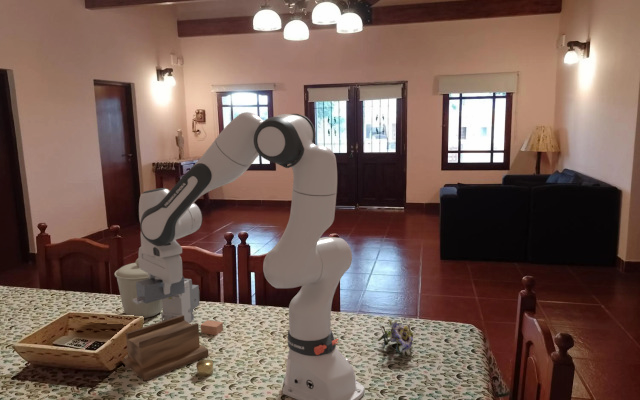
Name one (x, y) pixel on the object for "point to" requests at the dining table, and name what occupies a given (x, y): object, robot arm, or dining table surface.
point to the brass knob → (204, 368)
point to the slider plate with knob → (156, 290)
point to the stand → (163, 347)
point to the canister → (134, 291)
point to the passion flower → (398, 337)
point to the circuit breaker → (182, 303)
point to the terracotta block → (212, 327)
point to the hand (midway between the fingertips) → (160, 290)
